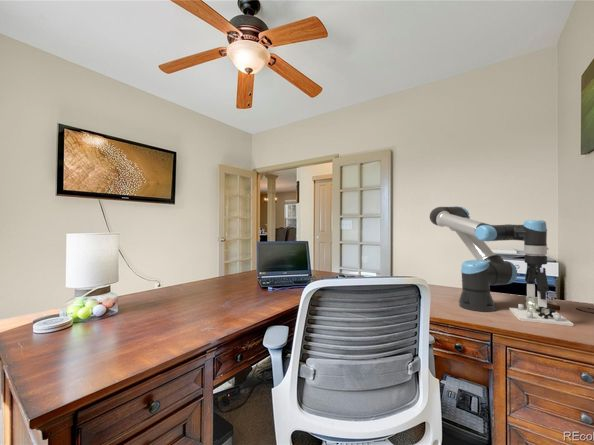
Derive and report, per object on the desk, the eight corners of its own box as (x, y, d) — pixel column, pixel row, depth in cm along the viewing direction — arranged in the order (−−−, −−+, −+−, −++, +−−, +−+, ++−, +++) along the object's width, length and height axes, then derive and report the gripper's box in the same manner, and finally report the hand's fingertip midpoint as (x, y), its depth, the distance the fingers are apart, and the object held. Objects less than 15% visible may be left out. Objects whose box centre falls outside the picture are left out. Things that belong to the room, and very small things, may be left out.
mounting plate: (519, 320, 113) (519, 312, 113) (509, 309, 127) (509, 302, 127) (573, 326, 105) (573, 317, 105) (556, 314, 119) (555, 306, 119)
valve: (520, 309, 123) (537, 318, 112) (520, 295, 123) (536, 303, 112) (537, 310, 122) (556, 319, 110) (536, 296, 122) (555, 303, 110)
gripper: (559, 258, 104) (560, 312, 104) (536, 251, 126) (536, 295, 126) (534, 258, 107) (535, 309, 107) (516, 251, 129) (517, 293, 130)
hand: (536, 302), depth 117 cm, fingers open, 13 cm apart
